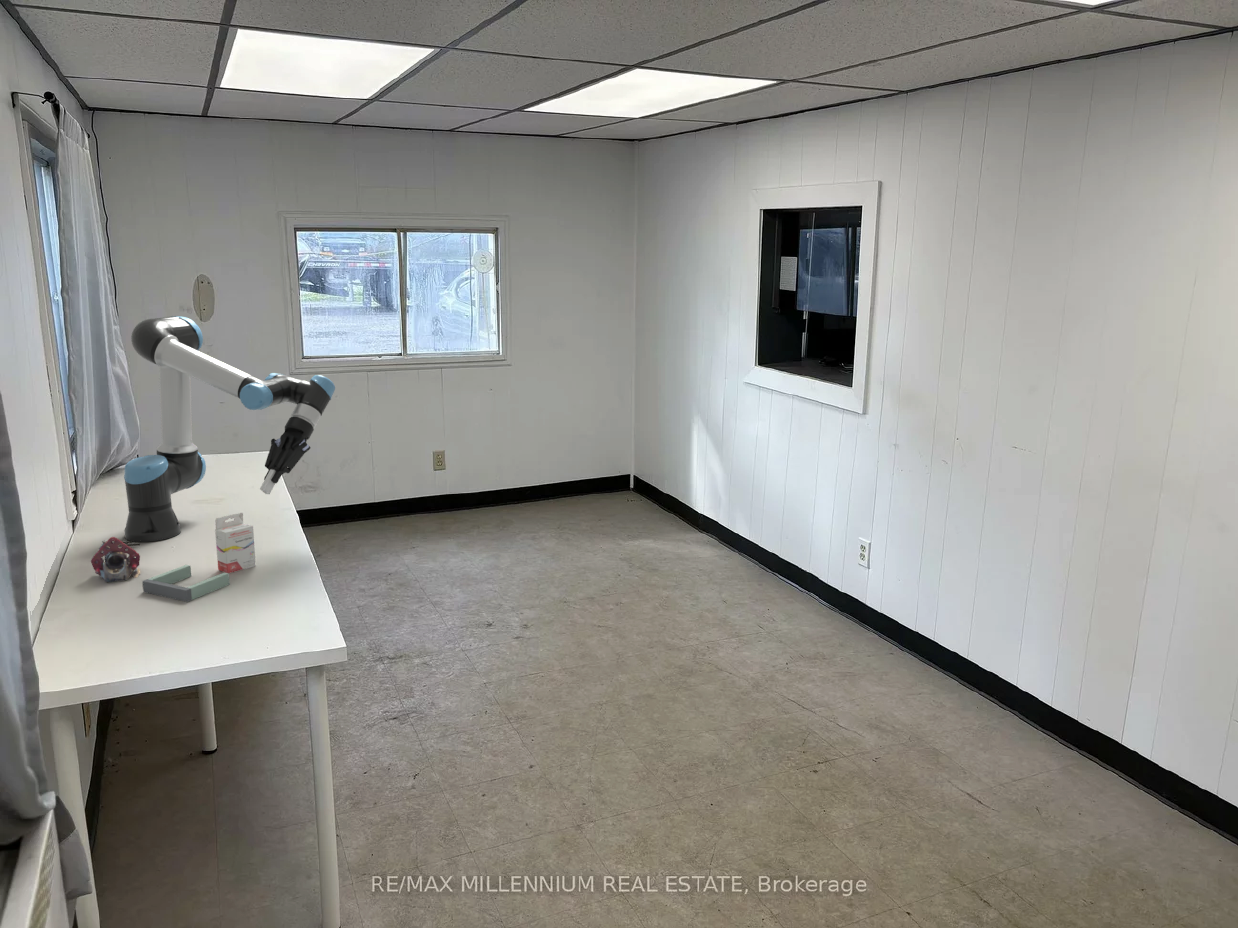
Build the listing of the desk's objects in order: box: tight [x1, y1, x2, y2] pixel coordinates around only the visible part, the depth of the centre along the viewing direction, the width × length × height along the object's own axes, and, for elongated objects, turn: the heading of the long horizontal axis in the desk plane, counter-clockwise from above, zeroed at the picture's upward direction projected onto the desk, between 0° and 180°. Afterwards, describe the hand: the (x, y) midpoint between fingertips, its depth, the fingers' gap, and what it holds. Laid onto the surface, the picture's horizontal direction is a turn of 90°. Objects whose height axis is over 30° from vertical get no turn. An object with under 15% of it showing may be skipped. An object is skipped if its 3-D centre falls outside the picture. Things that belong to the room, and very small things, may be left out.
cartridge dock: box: [142, 564, 230, 603], centre depth 232 cm, size 15×14×3 cm
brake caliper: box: [90, 536, 141, 583], centre depth 240 cm, size 11×11×12 cm
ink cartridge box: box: [214, 512, 256, 574], centre depth 246 cm, size 9×5×15 cm, turn 144°
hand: (264, 491), depth 252 cm, fingers closed
